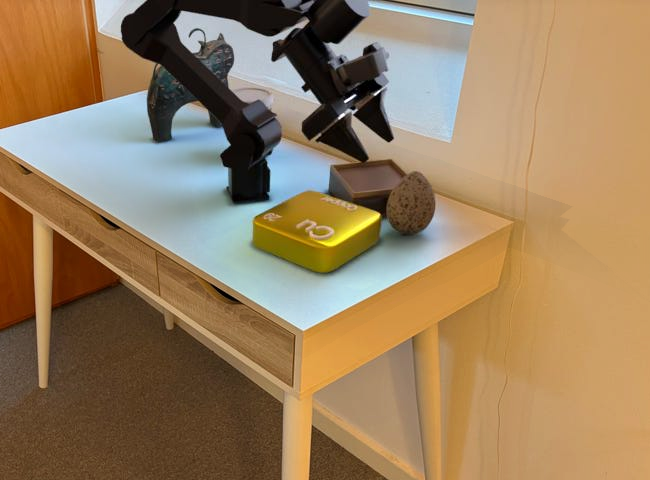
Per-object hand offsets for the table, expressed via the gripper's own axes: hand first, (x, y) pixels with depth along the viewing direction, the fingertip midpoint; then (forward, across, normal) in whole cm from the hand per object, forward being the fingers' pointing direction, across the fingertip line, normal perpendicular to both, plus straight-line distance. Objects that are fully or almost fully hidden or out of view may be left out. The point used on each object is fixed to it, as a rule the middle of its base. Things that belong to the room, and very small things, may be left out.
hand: (379, 150), depth 108 cm
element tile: (+5, -10, +12) cm, 17 cm away
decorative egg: (+13, 0, +4) cm, 14 cm away
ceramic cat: (-26, +21, +44) cm, 55 cm away
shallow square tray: (+6, +8, +11) cm, 15 cm away
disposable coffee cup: (-14, +15, +31) cm, 37 cm away
